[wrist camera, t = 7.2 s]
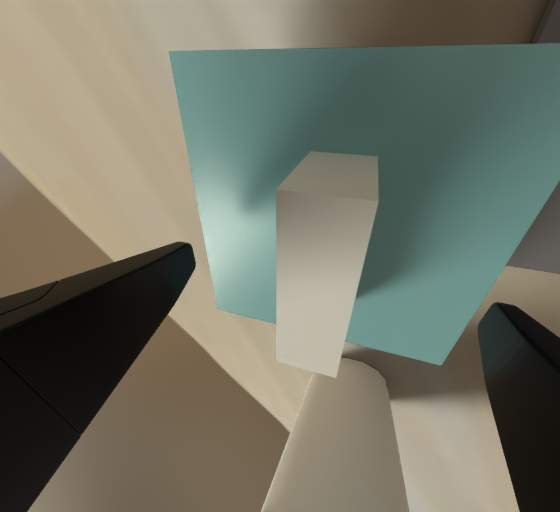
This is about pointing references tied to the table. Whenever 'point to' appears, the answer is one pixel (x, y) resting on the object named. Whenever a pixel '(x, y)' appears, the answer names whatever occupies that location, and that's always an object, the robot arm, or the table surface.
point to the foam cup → (341, 448)
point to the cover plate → (424, 181)
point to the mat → (556, 211)
